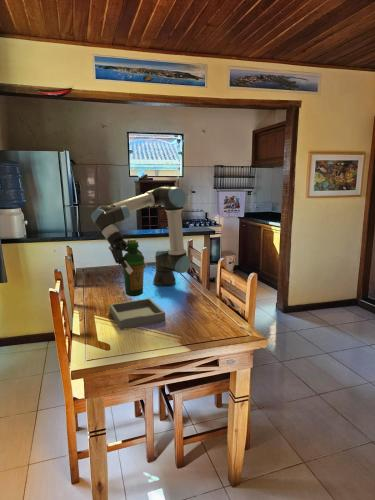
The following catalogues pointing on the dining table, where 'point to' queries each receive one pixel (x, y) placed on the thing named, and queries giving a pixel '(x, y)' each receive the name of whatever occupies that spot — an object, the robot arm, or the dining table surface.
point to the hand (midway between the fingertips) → (138, 269)
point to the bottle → (134, 270)
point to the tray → (136, 313)
